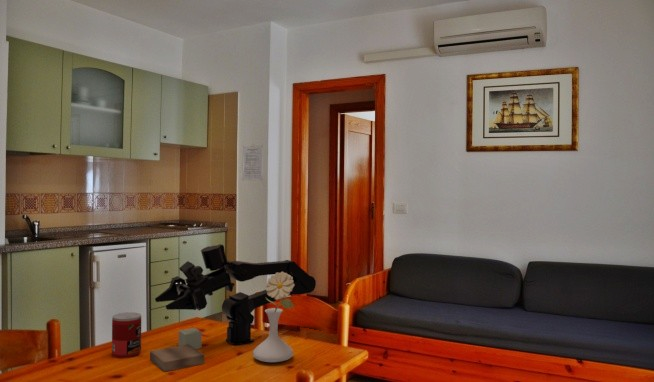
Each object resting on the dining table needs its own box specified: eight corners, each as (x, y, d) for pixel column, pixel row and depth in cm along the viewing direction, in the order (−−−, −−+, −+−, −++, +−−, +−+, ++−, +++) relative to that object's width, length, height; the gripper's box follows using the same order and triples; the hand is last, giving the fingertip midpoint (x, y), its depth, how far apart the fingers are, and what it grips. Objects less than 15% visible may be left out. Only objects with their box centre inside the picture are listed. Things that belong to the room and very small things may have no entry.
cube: (194, 344, 157) (194, 328, 157) (201, 348, 153) (201, 331, 153) (178, 347, 154) (178, 330, 154) (185, 351, 150) (185, 334, 150)
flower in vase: (244, 360, 143) (245, 270, 143) (272, 350, 152) (273, 266, 152) (278, 370, 136) (280, 276, 135) (306, 359, 145) (307, 271, 144)
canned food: (131, 359, 143) (131, 319, 143) (105, 356, 144) (106, 317, 144) (146, 350, 150) (146, 313, 150) (121, 348, 152) (122, 311, 152)
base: (187, 352, 149) (188, 344, 149) (203, 363, 140) (204, 354, 140) (149, 360, 142) (149, 351, 142) (164, 371, 133) (164, 362, 133)
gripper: (191, 253, 161) (142, 271, 152) (216, 263, 146) (164, 284, 137) (200, 286, 163) (153, 306, 154) (226, 299, 148) (175, 322, 139)
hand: (160, 303), depth 146 cm, fingers open, 9 cm apart
